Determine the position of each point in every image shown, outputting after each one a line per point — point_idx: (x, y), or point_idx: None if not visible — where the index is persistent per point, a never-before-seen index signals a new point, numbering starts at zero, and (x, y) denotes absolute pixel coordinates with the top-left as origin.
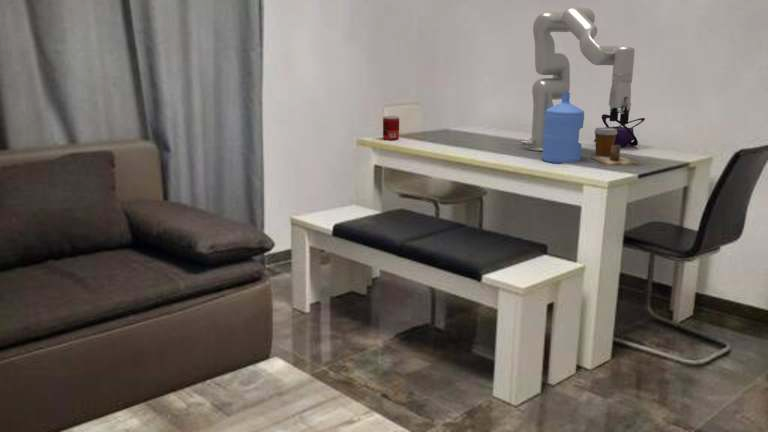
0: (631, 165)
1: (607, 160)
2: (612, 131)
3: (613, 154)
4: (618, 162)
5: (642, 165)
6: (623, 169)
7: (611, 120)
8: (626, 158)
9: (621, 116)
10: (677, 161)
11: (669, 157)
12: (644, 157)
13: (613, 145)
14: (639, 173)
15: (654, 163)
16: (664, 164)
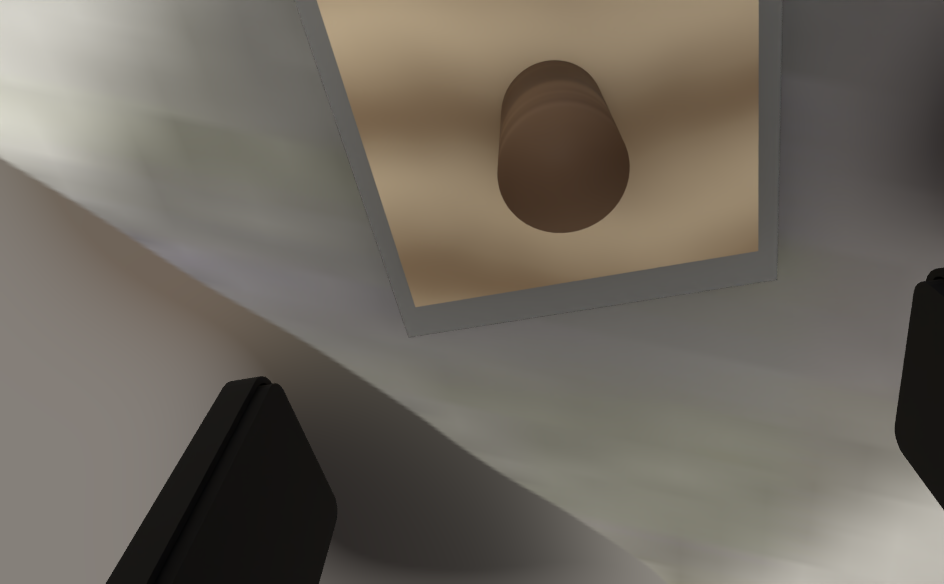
0: (378, 234)
1: (508, 20)
2: None
3: (507, 105)
4: (399, 125)
5: (403, 322)
6: (286, 138)
7: (925, 308)
8: (661, 256)
9: (142, 551)
10: (725, 574)
11: (895, 574)
12: None
13: (540, 135)
14: (139, 234)
15: (637, 436)
16: (598, 483)
